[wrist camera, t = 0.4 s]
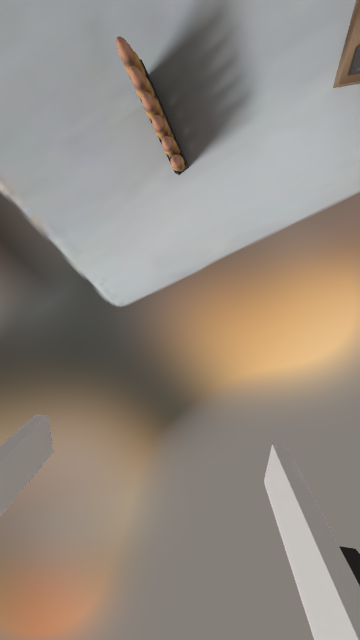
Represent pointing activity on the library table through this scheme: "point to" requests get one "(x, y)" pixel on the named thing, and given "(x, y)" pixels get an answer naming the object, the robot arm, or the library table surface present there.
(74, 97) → the library table surface
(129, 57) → the ammunition clip
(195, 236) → the library table surface
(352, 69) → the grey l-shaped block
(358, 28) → the wooden bar with block
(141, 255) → the library table surface
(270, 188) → the library table surface
